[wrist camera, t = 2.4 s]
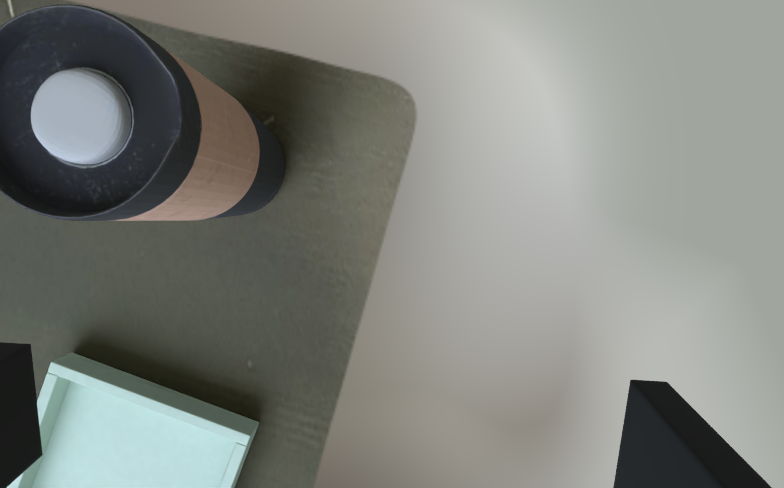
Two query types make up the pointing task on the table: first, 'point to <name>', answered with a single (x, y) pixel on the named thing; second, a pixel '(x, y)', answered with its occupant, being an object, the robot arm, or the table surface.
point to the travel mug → (122, 126)
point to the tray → (131, 433)
